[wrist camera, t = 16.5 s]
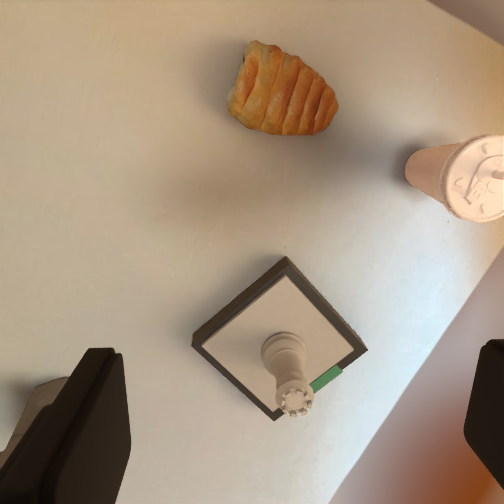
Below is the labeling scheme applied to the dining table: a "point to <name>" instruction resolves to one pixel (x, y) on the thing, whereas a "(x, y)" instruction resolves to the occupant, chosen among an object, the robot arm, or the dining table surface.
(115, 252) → the dining table surface
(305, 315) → the scale
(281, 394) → the rook chess piece
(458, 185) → the smoothie
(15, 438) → the coffeepot
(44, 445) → the robot arm
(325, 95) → the pastry
